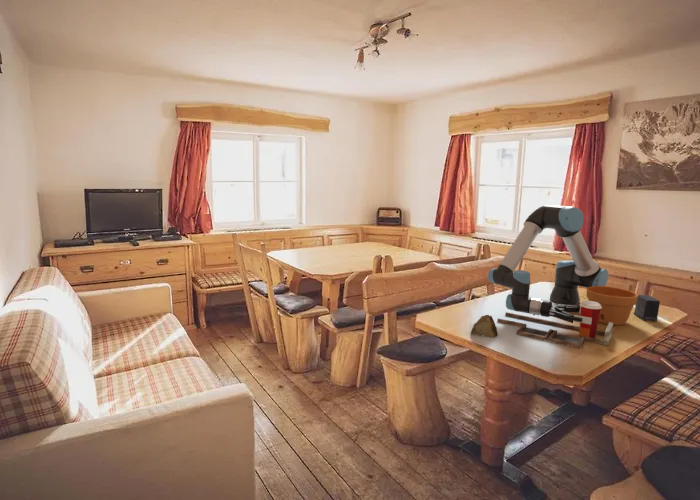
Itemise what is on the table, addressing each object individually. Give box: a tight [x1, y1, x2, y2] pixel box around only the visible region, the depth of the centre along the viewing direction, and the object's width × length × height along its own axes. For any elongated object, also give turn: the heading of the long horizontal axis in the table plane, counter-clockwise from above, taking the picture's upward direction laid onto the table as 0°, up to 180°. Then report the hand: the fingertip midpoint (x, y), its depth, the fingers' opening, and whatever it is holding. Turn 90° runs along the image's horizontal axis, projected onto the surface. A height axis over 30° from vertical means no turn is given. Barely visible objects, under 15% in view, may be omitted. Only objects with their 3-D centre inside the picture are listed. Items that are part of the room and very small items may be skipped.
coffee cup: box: [579, 300, 602, 339], centre depth 183 cm, size 8×8×15 cm
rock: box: [470, 314, 499, 338], centre depth 185 cm, size 11×9×10 cm
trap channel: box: [497, 311, 614, 349], centre depth 188 cm, size 46×24×6 cm, turn 53°
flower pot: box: [586, 285, 639, 326], centre depth 204 cm, size 21×21×15 cm
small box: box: [633, 294, 661, 322], centre depth 209 cm, size 11×6×10 cm, turn 168°
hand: (593, 317), depth 182 cm, fingers open, 13 cm apart
